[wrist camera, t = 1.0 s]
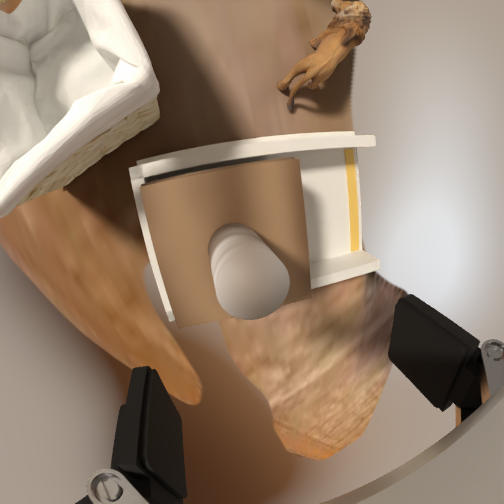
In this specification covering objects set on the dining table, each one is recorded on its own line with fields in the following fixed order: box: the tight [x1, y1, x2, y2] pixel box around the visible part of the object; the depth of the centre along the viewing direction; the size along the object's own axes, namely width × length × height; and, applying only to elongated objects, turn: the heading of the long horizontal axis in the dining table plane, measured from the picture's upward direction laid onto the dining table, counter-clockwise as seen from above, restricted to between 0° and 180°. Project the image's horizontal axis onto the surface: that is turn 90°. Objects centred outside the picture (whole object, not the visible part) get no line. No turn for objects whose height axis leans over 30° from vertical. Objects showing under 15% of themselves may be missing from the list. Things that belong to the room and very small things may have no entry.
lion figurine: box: [277, 0, 371, 110], centre depth 21 cm, size 15×5×9 cm, turn 156°
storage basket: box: [0, 0, 160, 218], centre depth 14 cm, size 24×16×15 cm
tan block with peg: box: [140, 157, 311, 328], centre depth 21 cm, size 12×12×15 cm
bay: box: [129, 131, 380, 321], centre depth 28 cm, size 25×17×5 cm
